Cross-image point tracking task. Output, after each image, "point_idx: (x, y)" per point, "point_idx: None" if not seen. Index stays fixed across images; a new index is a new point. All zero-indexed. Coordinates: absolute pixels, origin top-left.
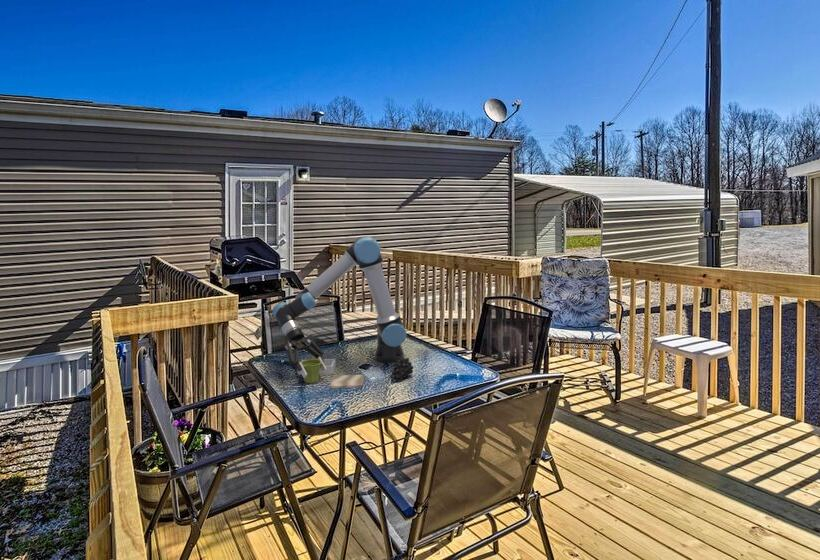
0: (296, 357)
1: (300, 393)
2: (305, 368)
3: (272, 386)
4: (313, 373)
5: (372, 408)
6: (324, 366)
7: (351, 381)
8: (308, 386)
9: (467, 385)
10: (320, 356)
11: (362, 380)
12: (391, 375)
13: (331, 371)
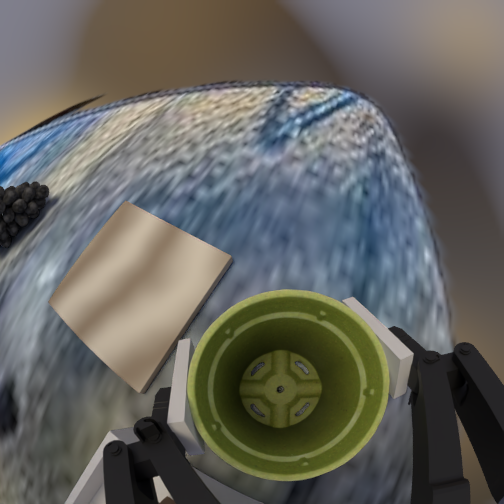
0: (446, 390)
1: (371, 273)
2: (351, 336)
3: None
4: (289, 330)
5: (213, 93)
6: (184, 351)
7: (125, 257)
8: None
9: (23, 138)
10: (159, 428)
11: (92, 244)
12: (43, 186)
13: (129, 431)
